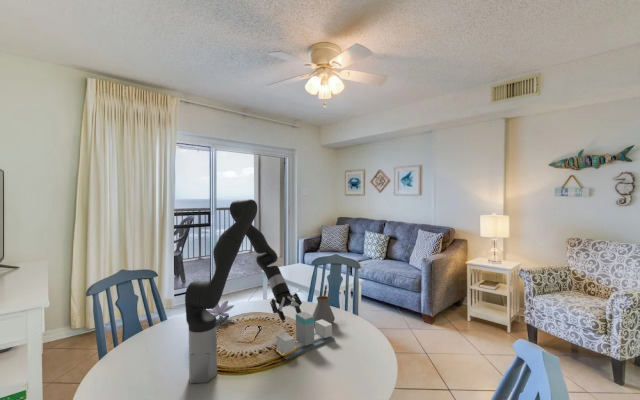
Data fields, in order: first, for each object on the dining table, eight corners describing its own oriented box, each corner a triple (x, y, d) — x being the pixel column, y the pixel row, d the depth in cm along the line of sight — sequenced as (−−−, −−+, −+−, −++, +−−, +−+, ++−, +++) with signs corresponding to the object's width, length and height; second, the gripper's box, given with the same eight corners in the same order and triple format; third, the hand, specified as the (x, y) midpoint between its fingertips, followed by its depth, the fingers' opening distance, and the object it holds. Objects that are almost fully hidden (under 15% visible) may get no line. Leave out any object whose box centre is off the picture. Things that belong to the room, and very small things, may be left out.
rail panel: (285, 360, 114) (285, 342, 114) (274, 350, 121) (274, 334, 121) (334, 340, 129) (334, 324, 129) (321, 332, 136) (321, 318, 136)
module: (305, 346, 121) (305, 319, 121) (295, 339, 126) (295, 314, 126) (314, 342, 124) (314, 316, 124) (304, 336, 129) (304, 311, 129)
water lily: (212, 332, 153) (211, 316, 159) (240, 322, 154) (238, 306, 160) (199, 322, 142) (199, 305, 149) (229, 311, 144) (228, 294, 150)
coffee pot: (333, 329, 140) (333, 298, 140) (309, 328, 141) (309, 297, 141) (337, 312, 161) (336, 284, 161) (316, 311, 162) (316, 284, 162)
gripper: (268, 285, 135) (281, 317, 126) (294, 279, 144) (308, 309, 135) (263, 293, 139) (275, 326, 130) (288, 287, 148) (301, 317, 139)
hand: (292, 317), depth 133 cm, fingers open, 8 cm apart
